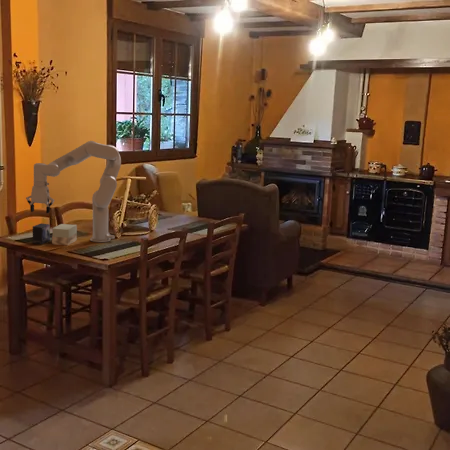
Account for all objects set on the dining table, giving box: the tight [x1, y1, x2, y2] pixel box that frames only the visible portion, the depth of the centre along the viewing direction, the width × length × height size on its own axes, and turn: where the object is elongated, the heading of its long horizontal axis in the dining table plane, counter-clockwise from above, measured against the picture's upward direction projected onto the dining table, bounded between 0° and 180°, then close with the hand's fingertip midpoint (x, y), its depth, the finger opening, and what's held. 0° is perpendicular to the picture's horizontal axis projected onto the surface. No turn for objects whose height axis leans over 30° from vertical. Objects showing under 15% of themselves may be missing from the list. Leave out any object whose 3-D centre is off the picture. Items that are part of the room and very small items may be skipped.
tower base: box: [51, 232, 78, 246], centre depth 363 cm, size 10×14×5 cm
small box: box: [32, 222, 51, 245], centre depth 359 cm, size 11×6×10 cm, turn 168°
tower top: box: [51, 223, 78, 238], centre depth 362 cm, size 10×14×5 cm
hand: (40, 212), depth 357 cm, fingers open, 9 cm apart
